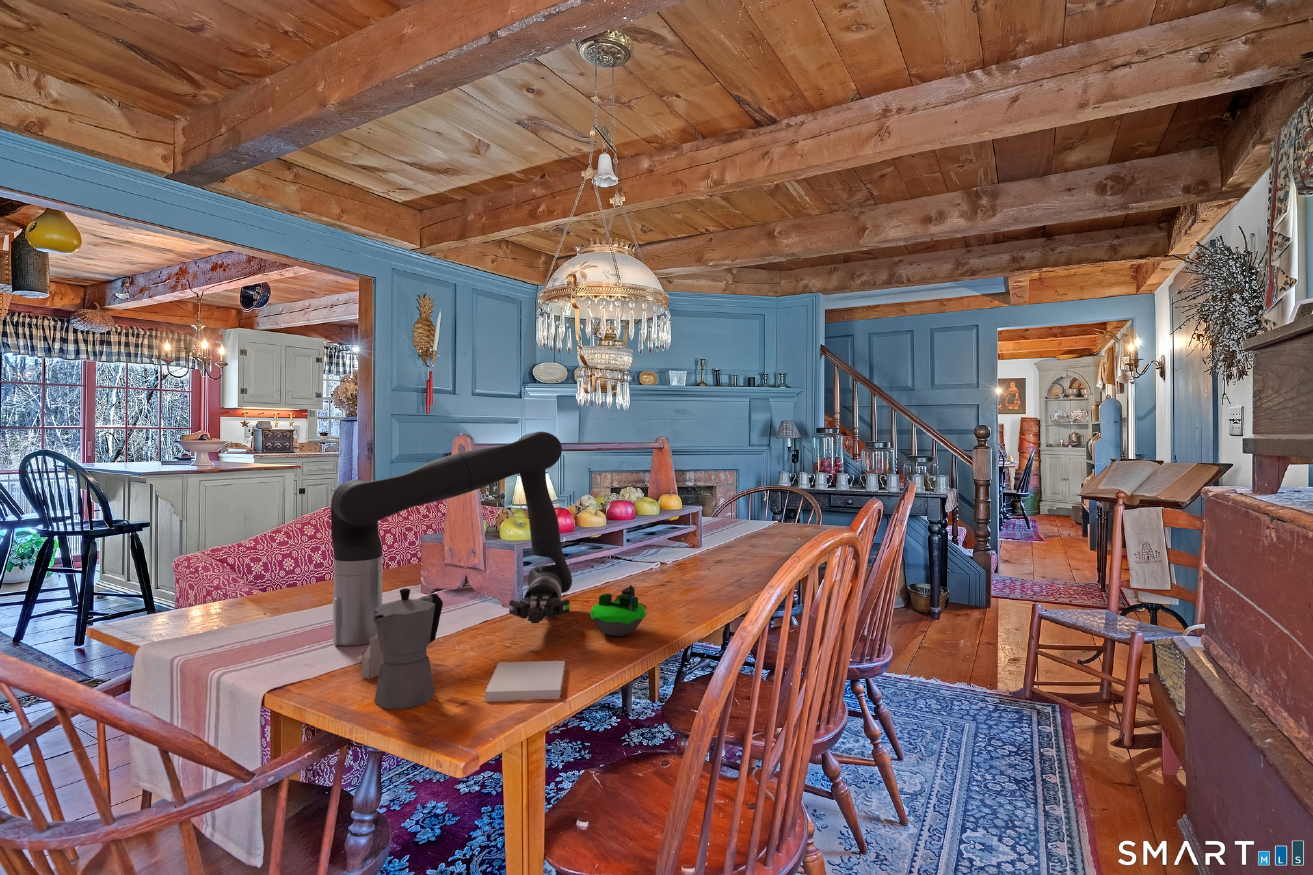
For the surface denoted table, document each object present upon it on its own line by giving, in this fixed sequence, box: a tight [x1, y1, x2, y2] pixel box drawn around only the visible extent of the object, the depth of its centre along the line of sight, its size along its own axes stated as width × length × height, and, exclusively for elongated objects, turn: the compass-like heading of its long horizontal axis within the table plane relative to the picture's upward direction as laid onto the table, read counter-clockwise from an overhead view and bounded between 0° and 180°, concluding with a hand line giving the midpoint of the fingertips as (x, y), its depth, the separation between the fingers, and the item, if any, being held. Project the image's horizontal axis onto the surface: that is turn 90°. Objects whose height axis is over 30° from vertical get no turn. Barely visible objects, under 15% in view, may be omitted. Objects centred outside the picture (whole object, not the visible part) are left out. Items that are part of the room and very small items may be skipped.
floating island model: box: [589, 584, 647, 637], centre depth 145 cm, size 12×12×11 cm
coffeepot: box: [373, 587, 444, 711], centre depth 110 cm, size 15×9×18 cm, turn 159°
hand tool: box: [613, 586, 636, 601], centre depth 163 cm, size 19×4×5 cm, turn 161°
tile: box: [484, 660, 566, 702], centre depth 116 cm, size 12×2×14 cm
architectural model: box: [356, 634, 383, 679], centre depth 122 cm, size 3×7×7 cm, turn 156°
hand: (534, 618), depth 130 cm, fingers closed
